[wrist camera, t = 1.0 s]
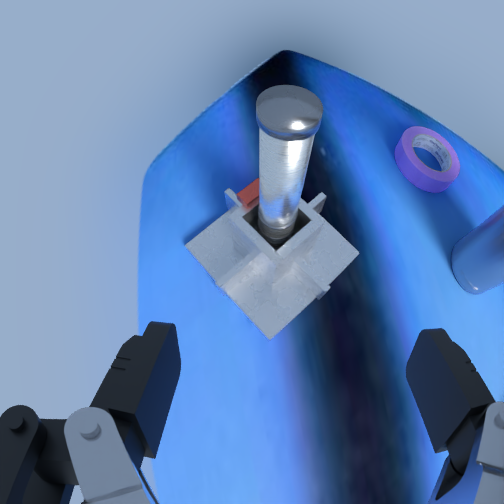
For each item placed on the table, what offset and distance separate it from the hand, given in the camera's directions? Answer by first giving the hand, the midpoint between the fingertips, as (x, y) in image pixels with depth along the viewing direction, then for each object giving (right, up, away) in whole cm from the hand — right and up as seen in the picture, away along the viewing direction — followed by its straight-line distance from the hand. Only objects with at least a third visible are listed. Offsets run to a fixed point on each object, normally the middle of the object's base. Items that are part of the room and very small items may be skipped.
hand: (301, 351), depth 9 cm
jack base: (+1, +3, +31) cm, 31 cm away
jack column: (+1, +4, +29) cm, 30 cm away
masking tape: (+28, +18, +37) cm, 50 cm away
